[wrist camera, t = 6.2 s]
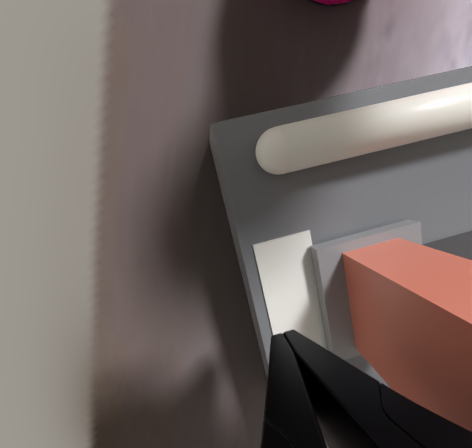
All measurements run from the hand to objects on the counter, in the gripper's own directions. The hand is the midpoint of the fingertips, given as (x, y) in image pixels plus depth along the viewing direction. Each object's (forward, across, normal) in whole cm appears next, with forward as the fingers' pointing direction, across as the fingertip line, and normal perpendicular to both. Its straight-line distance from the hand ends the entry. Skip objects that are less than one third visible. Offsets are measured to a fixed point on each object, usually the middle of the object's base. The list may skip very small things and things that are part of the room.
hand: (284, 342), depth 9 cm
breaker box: (+6, -8, 0) cm, 10 cm away
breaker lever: (+2, -4, 0) cm, 5 cm away
